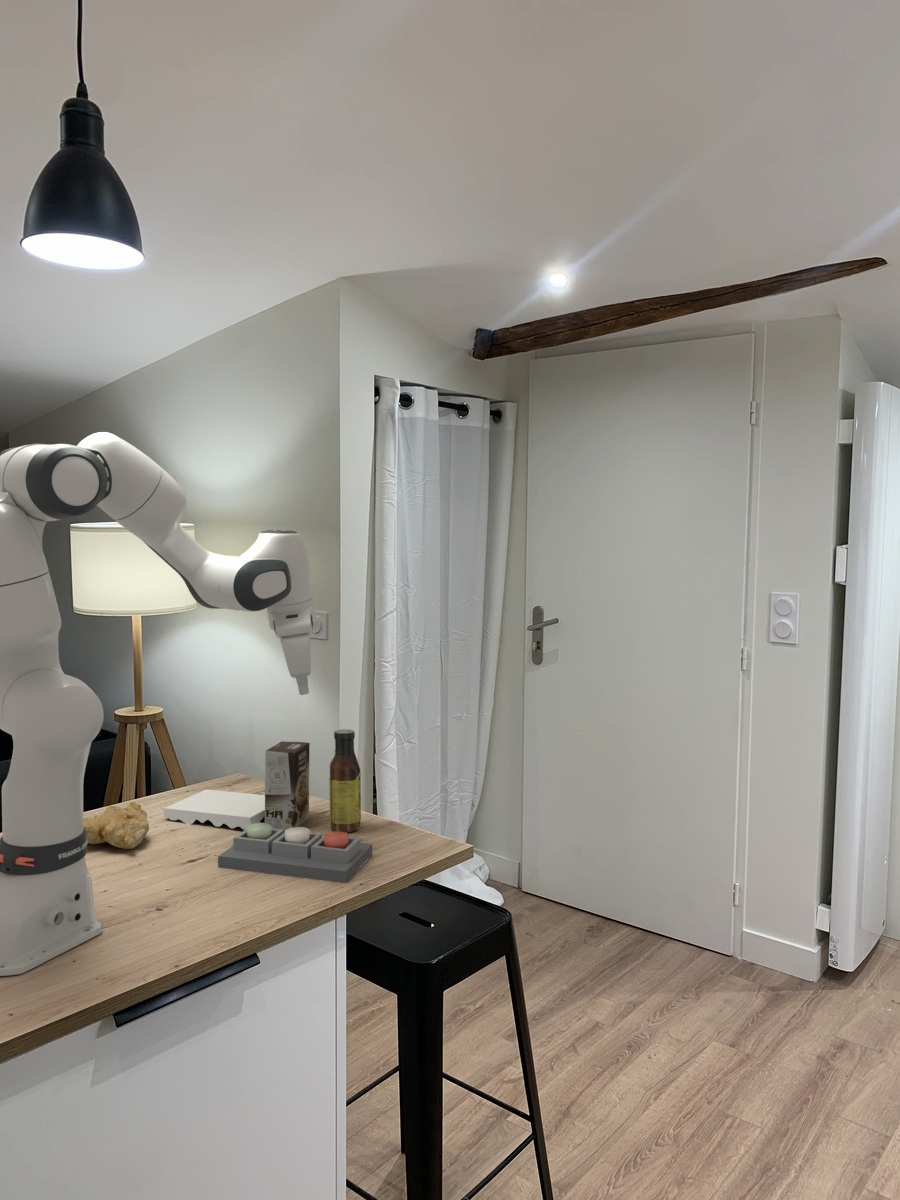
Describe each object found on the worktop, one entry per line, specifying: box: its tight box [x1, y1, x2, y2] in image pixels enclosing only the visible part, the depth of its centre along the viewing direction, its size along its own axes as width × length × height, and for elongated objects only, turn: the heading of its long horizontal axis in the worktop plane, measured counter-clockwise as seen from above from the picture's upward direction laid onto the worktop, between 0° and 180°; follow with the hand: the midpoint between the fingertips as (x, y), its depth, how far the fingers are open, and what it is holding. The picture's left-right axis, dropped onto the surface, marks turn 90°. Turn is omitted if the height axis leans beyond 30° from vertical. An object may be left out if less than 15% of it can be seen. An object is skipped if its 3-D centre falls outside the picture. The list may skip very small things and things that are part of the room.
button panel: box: [217, 828, 373, 884], centre depth 167 cm, size 14×24×4 cm, turn 76°
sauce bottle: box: [328, 728, 362, 834], centre depth 184 cm, size 6×6×20 cm
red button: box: [323, 830, 350, 849], centre depth 165 cm, size 4×4×2 cm
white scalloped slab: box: [163, 789, 265, 831], centre depth 191 cm, size 15×3×20 cm
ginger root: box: [83, 801, 150, 850], centre depth 173 cm, size 16×16×8 cm
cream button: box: [284, 826, 311, 844], centre depth 166 cm, size 4×4×2 cm
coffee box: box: [264, 741, 311, 832], centre depth 186 cm, size 9×6×16 cm
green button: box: [247, 822, 271, 840], centre depth 168 cm, size 4×4×2 cm
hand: (303, 685), depth 173 cm, fingers open, 8 cm apart
